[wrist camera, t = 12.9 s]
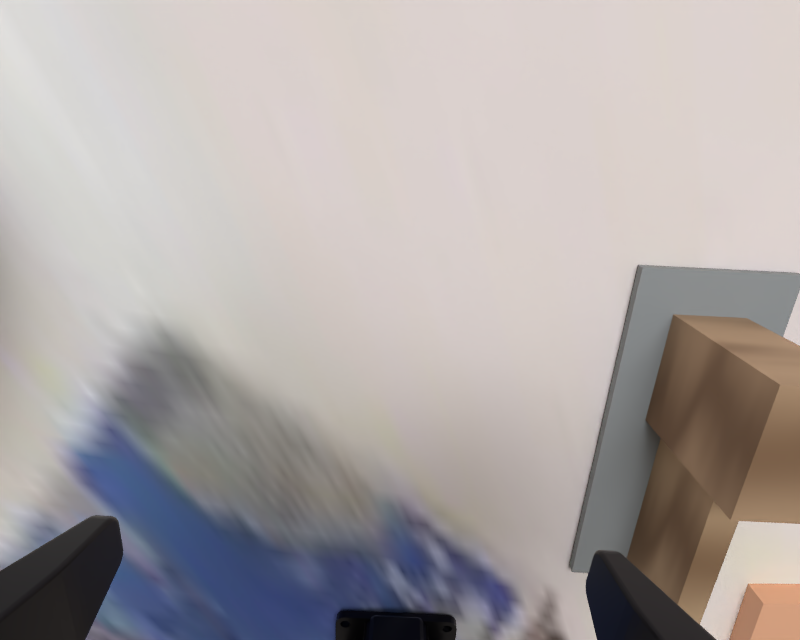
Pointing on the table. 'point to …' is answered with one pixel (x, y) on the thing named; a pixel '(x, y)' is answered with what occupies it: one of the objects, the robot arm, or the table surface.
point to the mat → (635, 378)
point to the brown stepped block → (717, 450)
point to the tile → (769, 613)
